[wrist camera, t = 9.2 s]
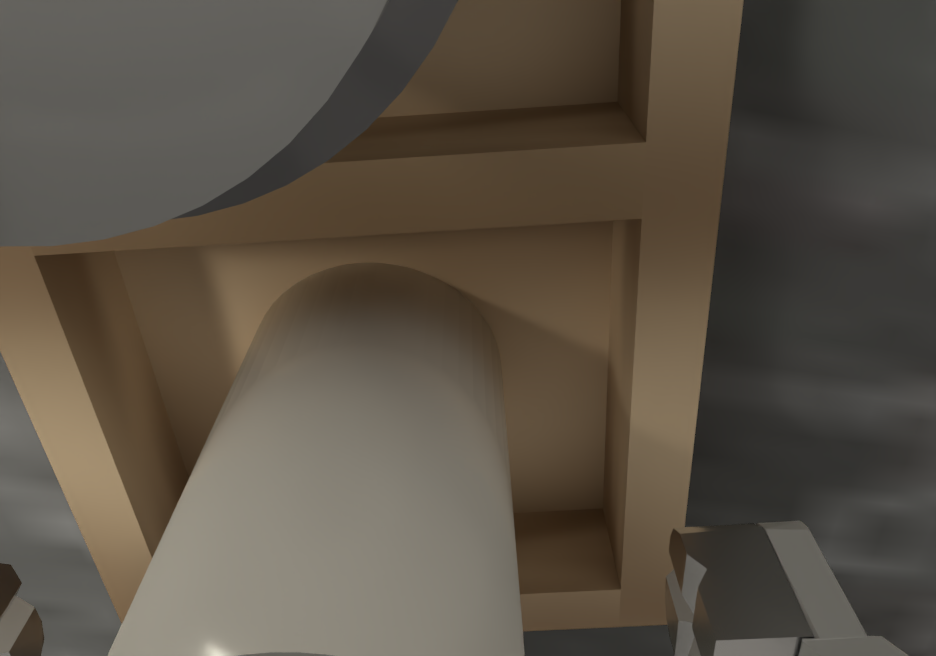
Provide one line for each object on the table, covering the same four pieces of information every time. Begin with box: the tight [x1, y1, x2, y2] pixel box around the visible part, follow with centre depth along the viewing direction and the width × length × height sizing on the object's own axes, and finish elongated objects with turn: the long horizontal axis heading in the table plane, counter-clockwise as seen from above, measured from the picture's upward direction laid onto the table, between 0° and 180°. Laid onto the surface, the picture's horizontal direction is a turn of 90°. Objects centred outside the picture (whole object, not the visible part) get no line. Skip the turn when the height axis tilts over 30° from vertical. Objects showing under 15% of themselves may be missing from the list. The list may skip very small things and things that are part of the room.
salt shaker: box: [108, 263, 525, 656], centre depth 10 cm, size 4×4×8 cm
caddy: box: [0, 0, 744, 631], centre depth 11 cm, size 17×10×3 cm, turn 4°
